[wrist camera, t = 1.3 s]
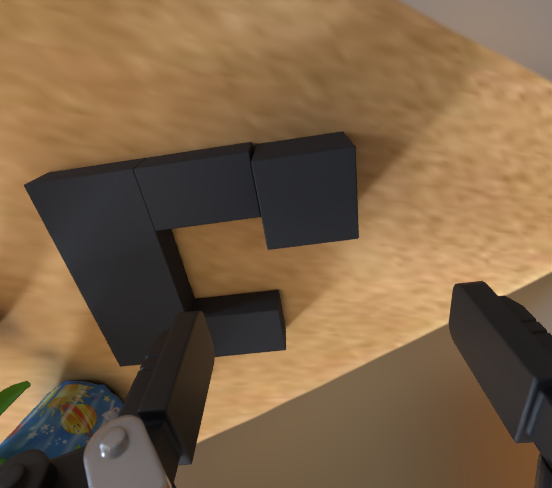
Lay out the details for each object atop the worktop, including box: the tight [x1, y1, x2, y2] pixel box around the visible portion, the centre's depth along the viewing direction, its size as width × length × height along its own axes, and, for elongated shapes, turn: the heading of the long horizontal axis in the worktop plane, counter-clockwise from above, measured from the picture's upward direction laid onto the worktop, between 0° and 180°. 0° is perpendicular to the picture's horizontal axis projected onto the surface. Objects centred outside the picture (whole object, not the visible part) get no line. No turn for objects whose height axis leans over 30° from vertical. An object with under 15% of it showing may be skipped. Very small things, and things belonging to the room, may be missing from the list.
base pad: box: [24, 142, 286, 366], centre depth 25 cm, size 16×14×2 cm
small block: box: [251, 132, 359, 250], centre depth 21 cm, size 6×6×4 cm
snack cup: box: [0, 380, 123, 465], centre depth 30 cm, size 16×10×10 cm
